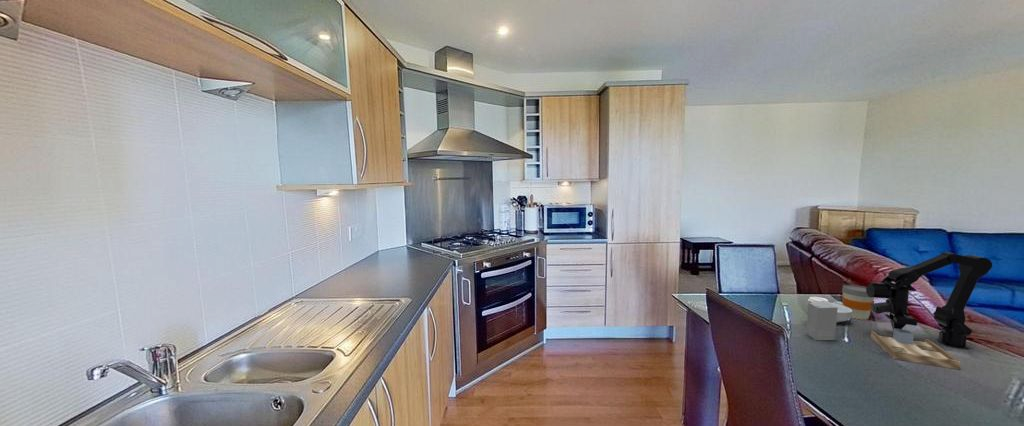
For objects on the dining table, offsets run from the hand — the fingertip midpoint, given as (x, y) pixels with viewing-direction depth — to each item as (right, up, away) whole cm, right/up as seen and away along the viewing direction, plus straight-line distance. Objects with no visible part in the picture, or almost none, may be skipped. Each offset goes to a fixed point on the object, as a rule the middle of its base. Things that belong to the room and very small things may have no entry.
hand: (895, 333), depth 158 cm
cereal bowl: (-10, -1, +23) cm, 25 cm away
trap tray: (-6, -4, -12) cm, 14 cm away
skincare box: (-32, -3, +2) cm, 32 cm away
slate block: (-3, -2, -6) cm, 7 cm away
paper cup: (-23, -2, +14) cm, 27 cm away
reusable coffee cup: (+8, -1, +27) cm, 28 cm away
